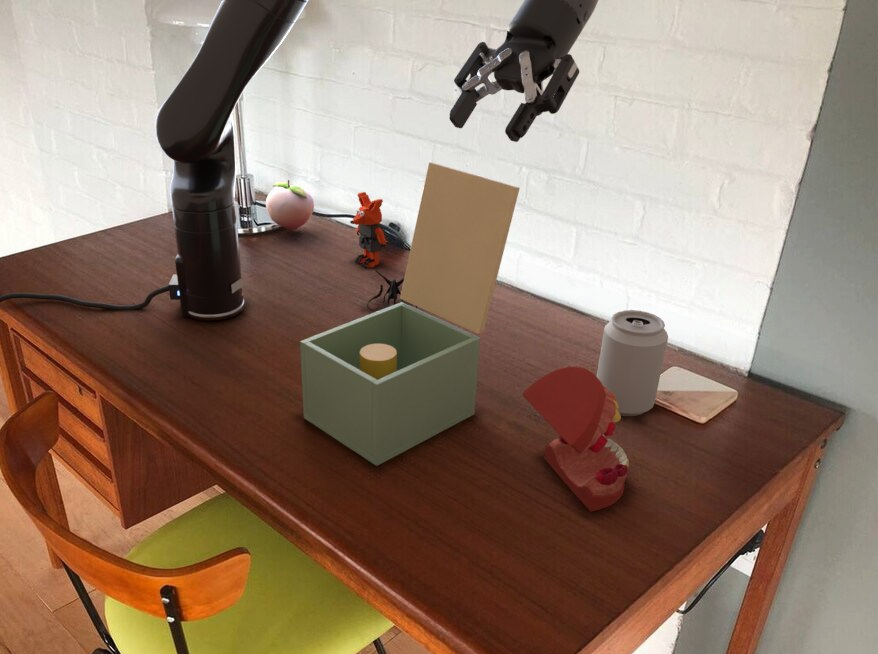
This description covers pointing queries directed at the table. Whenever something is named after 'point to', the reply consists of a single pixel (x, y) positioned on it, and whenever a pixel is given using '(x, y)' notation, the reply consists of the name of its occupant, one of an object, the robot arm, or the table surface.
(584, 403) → the anatomical model
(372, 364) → the round shape
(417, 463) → the table surface
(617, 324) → the can
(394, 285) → the creature
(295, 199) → the decorative fruit
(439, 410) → the green open box
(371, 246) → the toy animal
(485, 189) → the lid
